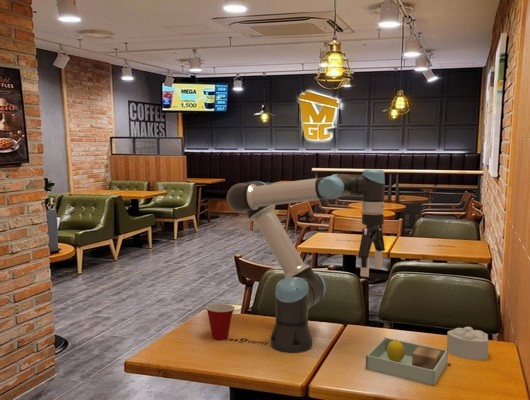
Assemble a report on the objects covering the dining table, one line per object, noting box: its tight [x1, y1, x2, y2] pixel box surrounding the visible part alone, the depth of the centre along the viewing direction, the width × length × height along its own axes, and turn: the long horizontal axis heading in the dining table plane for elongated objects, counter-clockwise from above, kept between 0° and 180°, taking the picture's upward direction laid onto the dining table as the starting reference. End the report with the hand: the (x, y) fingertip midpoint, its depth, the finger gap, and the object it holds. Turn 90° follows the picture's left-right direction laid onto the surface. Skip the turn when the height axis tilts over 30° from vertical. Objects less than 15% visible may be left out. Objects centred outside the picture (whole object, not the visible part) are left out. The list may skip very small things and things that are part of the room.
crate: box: [365, 337, 449, 386], centre depth 160 cm, size 21×18×5 cm
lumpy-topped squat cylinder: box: [446, 326, 489, 361], centre depth 171 cm, size 10×13×9 cm
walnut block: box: [412, 346, 441, 370], centre depth 157 cm, size 7×7×6 cm
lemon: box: [387, 339, 404, 362], centre depth 162 cm, size 6×6×8 cm
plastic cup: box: [205, 303, 235, 341], centre depth 186 cm, size 11×11×12 cm
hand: (371, 272), depth 177 cm, fingers open, 13 cm apart
